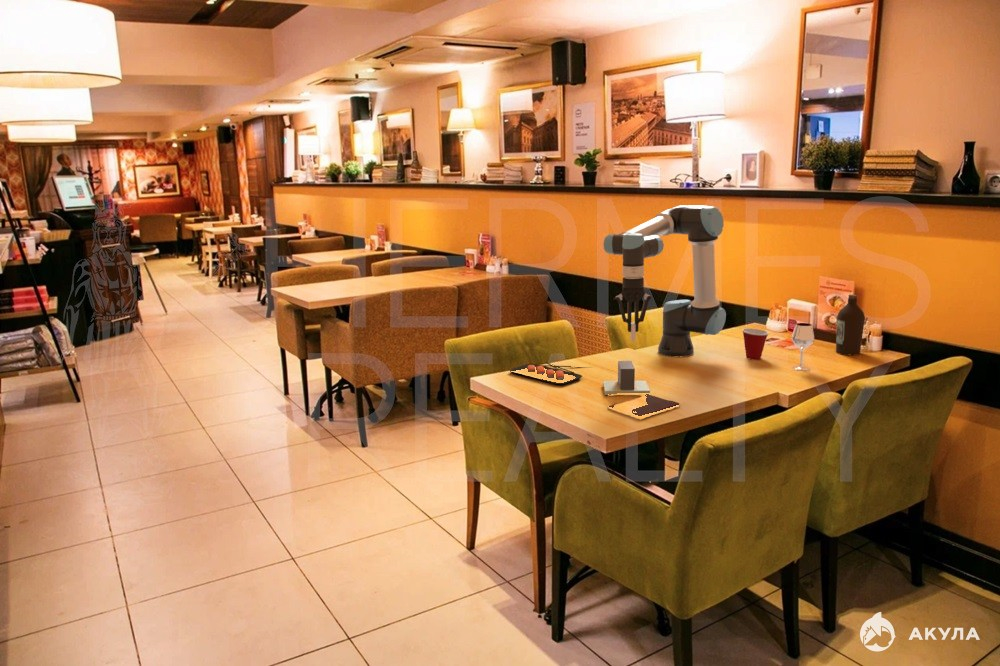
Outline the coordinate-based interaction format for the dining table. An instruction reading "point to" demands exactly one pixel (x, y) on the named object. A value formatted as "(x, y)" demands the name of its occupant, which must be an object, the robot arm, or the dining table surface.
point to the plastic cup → (754, 342)
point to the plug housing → (626, 375)
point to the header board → (614, 388)
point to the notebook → (653, 405)
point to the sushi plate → (549, 371)
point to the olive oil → (850, 328)
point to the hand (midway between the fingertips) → (632, 340)
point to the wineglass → (802, 340)
